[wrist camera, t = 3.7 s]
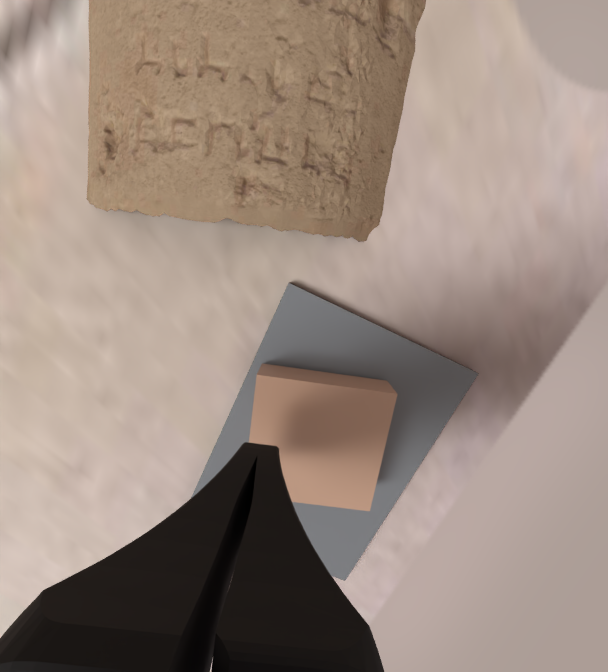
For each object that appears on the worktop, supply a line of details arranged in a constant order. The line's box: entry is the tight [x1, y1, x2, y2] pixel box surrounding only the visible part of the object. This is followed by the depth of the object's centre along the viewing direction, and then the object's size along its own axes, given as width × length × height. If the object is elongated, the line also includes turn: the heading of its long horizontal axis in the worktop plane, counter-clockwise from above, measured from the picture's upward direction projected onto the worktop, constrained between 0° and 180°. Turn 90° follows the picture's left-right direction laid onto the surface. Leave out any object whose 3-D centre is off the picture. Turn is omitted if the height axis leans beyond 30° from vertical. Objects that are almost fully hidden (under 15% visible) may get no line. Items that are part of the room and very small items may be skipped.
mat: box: [191, 283, 478, 581], centre depth 15 cm, size 14×10×1 cm
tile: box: [249, 363, 397, 511], centre depth 13 cm, size 6×2×6 cm
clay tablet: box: [87, 0, 426, 242], centre depth 11 cm, size 14×10×3 cm
